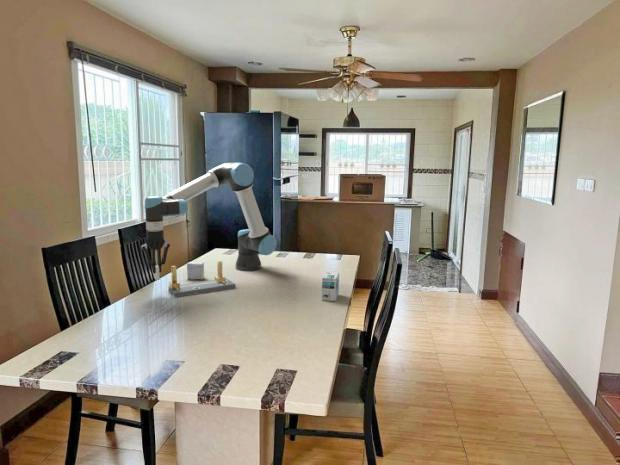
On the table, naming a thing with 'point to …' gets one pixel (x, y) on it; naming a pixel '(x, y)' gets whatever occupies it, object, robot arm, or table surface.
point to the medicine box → (195, 270)
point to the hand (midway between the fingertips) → (157, 279)
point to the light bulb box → (330, 286)
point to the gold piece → (174, 279)
